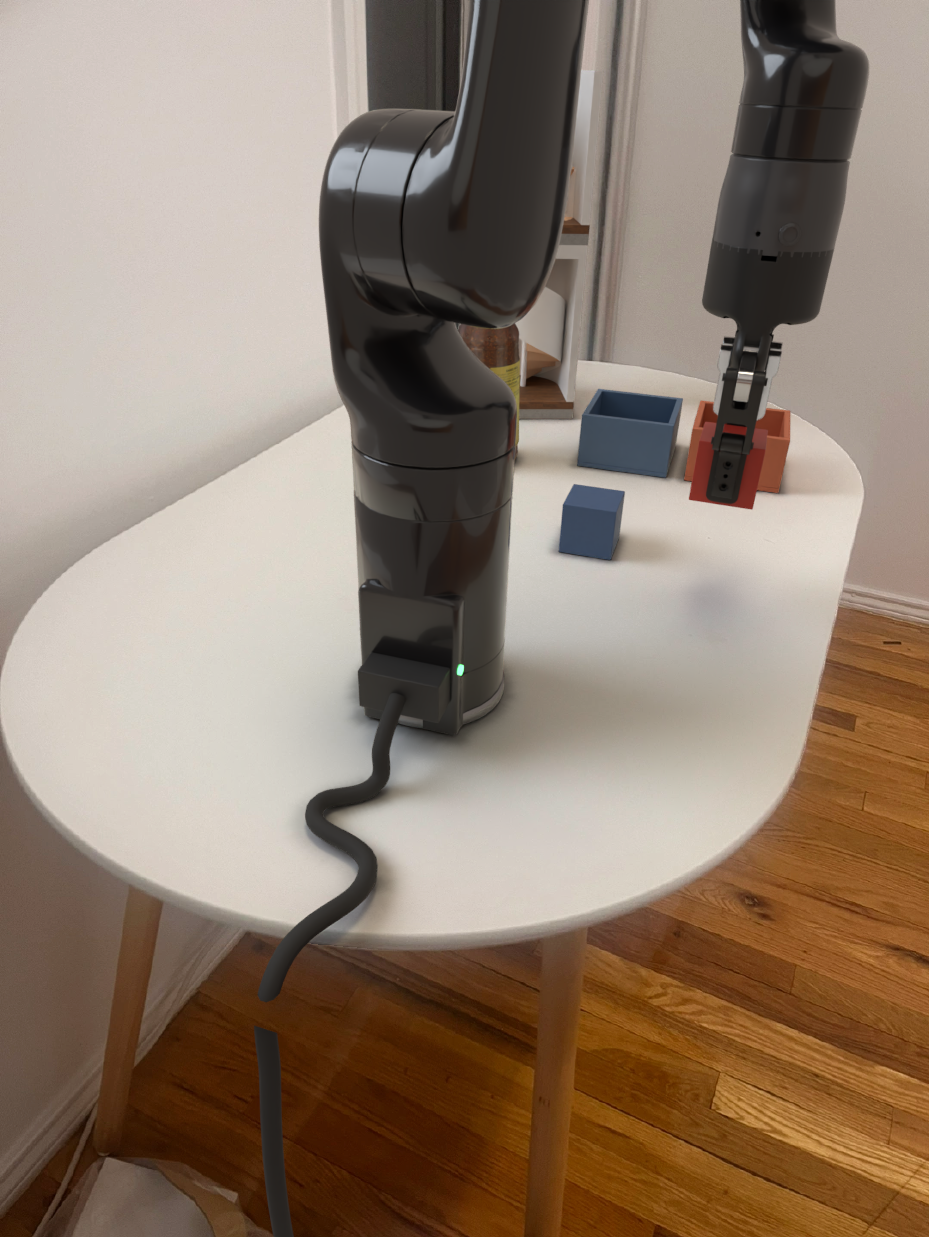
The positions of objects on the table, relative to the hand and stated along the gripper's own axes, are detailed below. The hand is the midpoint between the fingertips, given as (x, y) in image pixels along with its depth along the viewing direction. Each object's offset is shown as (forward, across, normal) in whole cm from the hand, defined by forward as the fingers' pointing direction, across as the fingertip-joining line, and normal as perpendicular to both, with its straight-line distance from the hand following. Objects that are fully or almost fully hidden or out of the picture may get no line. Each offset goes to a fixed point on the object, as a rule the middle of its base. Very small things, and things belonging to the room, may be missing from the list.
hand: (723, 486), depth 65 cm
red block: (+1, 0, 0) cm, 1 cm away
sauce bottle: (+9, -21, -24) cm, 34 cm away
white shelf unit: (+9, -40, -26) cm, 49 cm away
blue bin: (+9, -28, -10) cm, 31 cm away
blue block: (+9, -6, -10) cm, 15 cm away
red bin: (+9, -28, 0) cm, 29 cm away
